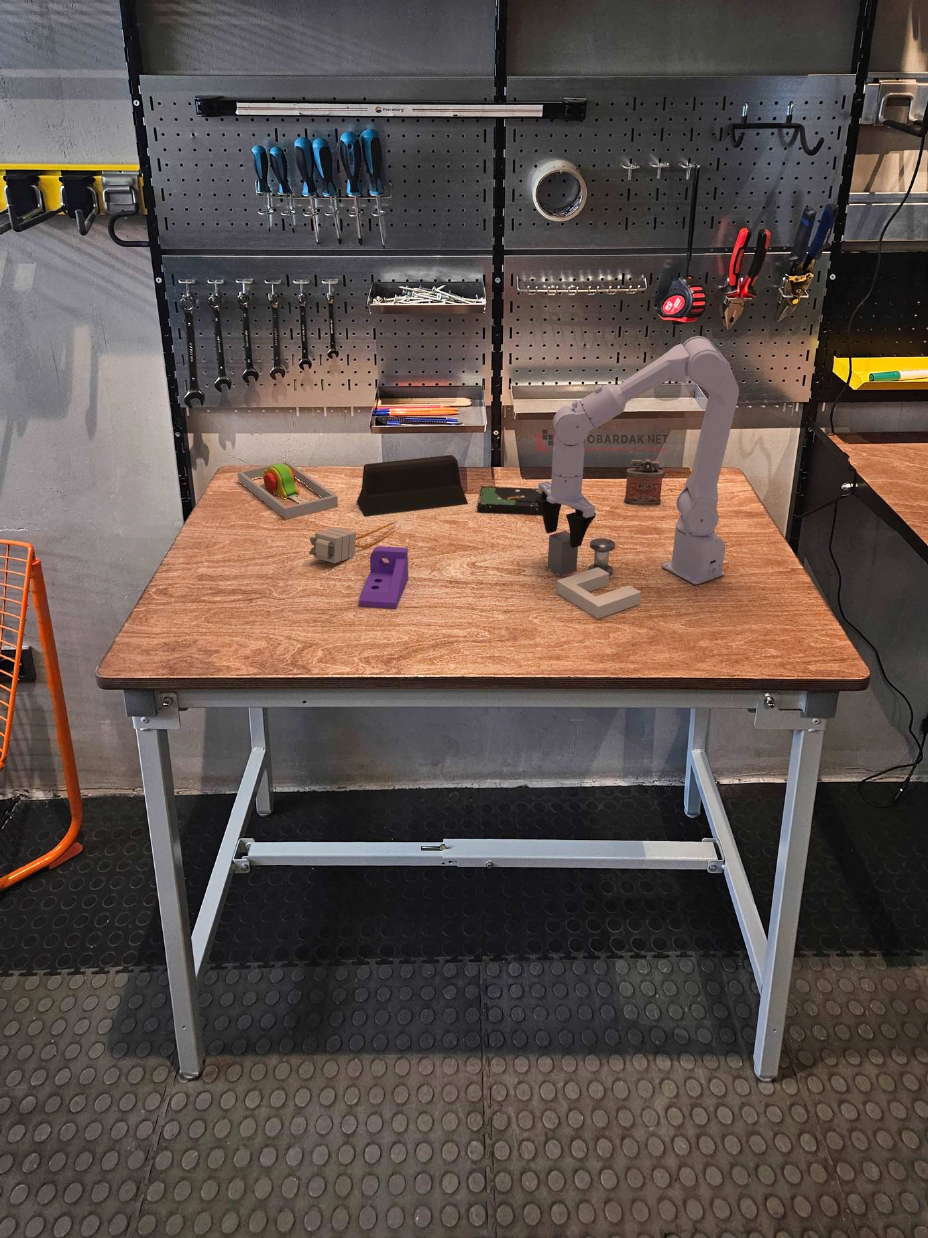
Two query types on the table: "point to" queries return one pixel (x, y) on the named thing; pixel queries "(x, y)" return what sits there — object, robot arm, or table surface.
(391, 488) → the barrier
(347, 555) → the electrical component
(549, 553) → the tab block
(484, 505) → the disk drive
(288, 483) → the toy measuring tape
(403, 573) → the bracket
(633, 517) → the table surface
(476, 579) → the table surface
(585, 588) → the notched board
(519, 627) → the table surface
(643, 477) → the lighter
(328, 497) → the rectangular frame
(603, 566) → the bobbin post
